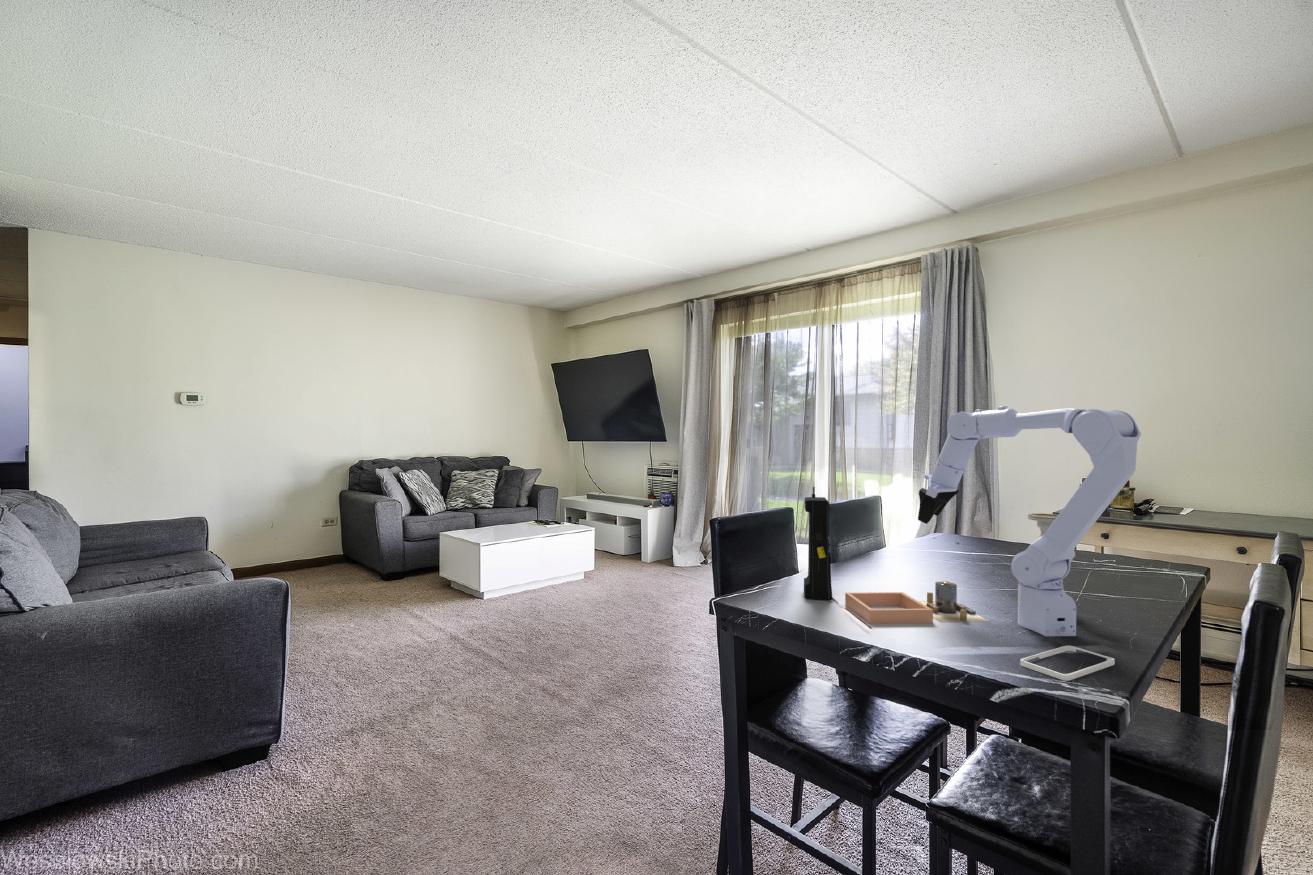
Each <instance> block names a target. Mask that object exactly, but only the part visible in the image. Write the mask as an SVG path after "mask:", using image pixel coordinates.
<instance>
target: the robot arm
mask: <svg viewBox="0 0 1313 875" xmlns="http://www.w3.org/2000/svg"><path fill="white" fill-rule="evenodd" d="M996 407H997V409H992V410H991V409H989V410H983V409H982V408H981V409H979V408H978V409H975V410H974V412H967V411H960V412H959V411H958V412H956V413H954V414H952V415H951V416H950V417H949V418H948V420H947V423H946V429H947V432H948V435H947V437H946V439H945V442H944V444H943V447H942V448H941V451H940V453H939V456H938V458H937V461H936V463H935V466H934V467H933V469H932V473H931V474H930V473H926V474H924V476H923V478H924V479H927V480H928V488H927V489H925V488H924V487H921V488H920V489H919V491H918V496H919V508H918V513H917V514H918V515H917V520H918V521H919V522H921V523H923V524H926V525H927V524H928V523H929V522H930V521H931V520H932V519H933V517H934V516H936V517H938V516H939V515H940V514H941V513H942V511H943V510H944V509H945V507H946V506H947V505H948V503H950V501H951V499H952V498H954V497H955V496H956V495H958V493H959V492H960V489H959V483H960V482H961V479H962V477H963V474H964V472H965V471H966V467H967V466H968V463H969V461H970V459H971V457H972V454H973V452H974V450H975V447H976V446H977V444H978V442H979V441H980V440H982V439H996V438H1014V437H1016V436H1018V435H1019V433H1020V432H1022V430H1038V429H1060V430H1062V431H1063V432H1065V433H1066V434H1073V437H1074V438H1075V440H1077V442H1078V443H1079V444H1080V446H1081V447H1083V449H1084V450H1085V452H1086V453H1087V454H1088V455H1089V457H1090V461H1091V463H1092V466H1093V468H1092V469H1091V471H1090V472H1089V474H1088V475H1087V476H1086V478H1085V479H1084V480H1083V482H1082V483H1081V484H1080V486H1078V488H1077V489H1076V491H1075V492H1074V493H1073V495H1072V496H1071V498H1070V499H1069V500H1068V501H1067V503H1066V504H1065V506H1064V507H1063V508H1062V509H1061V511H1060V512H1059V514H1057V515H1058V516H1057V518H1056V519H1055V520H1054V522H1053V523H1052V524H1051V526H1050V527H1049V528H1048V530H1047V531H1046V532H1045V534H1044V535H1043V536H1042V537H1040V538H1039V539H1038V538H1037V539H1036V540H1035V541H1033V542H1031V543H1030V544H1029V545H1028V547H1027V548H1026V549H1025V550H1023V551H1022V552H1021V551H1020V552H1019V553H1016V554H1015V555H1014V556H1013V558H1012V560H1011V563H1010V564H1011V566H1010V567H1011V572H1012V574H1013V576H1014V577H1015V578H1016V580H1017V584H1018V586H1017V624H1018V625H1019V626H1020V627H1022V628H1024V629H1028V630H1031V631H1033V632H1035V633H1038V634H1040V635H1042V636H1044V637H1077V605H1076V604H1077V603H1076V602H1075V600H1074V598H1073V597H1071V596H1070V595H1068V594H1067V592H1066V591H1065V589H1064V583H1063V582H1064V579H1065V578H1066V577H1067V576H1068V575H1069V573H1070V571H1071V563H1072V561H1073V559H1074V558H1075V557H1076V551H1075V548H1076V547H1077V546H1078V545H1079V543H1081V541H1082V539H1084V537H1085V536H1086V534H1088V532H1089V531H1090V529H1091V528H1092V527H1093V526H1094V524H1095V523H1096V522H1097V521H1098V519H1099V518H1100V517H1101V515H1103V513H1104V512H1105V511H1106V509H1107V508H1108V507H1109V506H1110V504H1111V503H1112V502H1113V501H1114V500H1115V498H1116V497H1117V495H1118V494H1119V493H1120V491H1121V490H1122V489H1123V488H1124V487H1125V485H1126V484H1127V483H1128V482H1129V480H1130V479H1131V477H1132V476H1133V475H1134V473H1135V471H1136V466H1137V450H1138V447H1137V446H1138V442H1139V440H1140V438H1141V436H1142V433H1141V431H1140V429H1139V427H1138V424H1137V422H1136V421H1135V419H1134V418H1133V416H1132V415H1131V414H1130V413H1128V412H1126V411H1123V410H1118V409H1117V410H1115V409H1114V410H1101V409H1097V408H1092V409H1091V408H1090V409H1086V408H1085V409H1084V408H1083V409H1082V408H1058V409H1049V410H1043V411H1035V412H1033V411H1032V412H1026V413H1025V412H1024V413H1020V412H1018V411H1017V410H1016V409H1014V408H1010V407H1009V408H1008V406H1007V405H1003V406H1001V405H1000V406H996Z"/></svg>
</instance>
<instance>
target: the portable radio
mask: <svg viewBox="0 0 1313 875" xmlns="http://www.w3.org/2000/svg"><path fill="white" fill-rule="evenodd" d="M815 488H816V487H815V486H812V494H811V496H809V497H804V511H805V512H806V513H808V552H807V553H808V558H807V560H808V563H807V564H808V565H807V567H808V569H807V576H806V577H804V578H803V594H804V598H805V599H809V600H821V601H822V600H824V601H830V600H831V598H833V591H832V590H833V589H832V571H831V570H832V569H831V564H832V556H831V552H830V539H829V537H830V501H829V500H828V499H827V498H826V497H825V496H824V497H821V496H816V493H815Z"/></svg>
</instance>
